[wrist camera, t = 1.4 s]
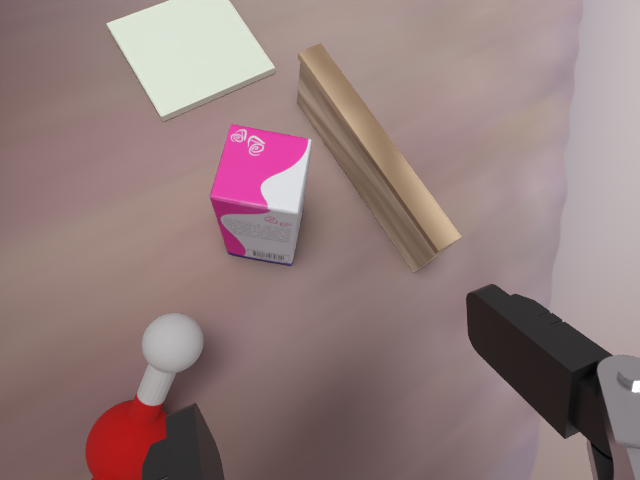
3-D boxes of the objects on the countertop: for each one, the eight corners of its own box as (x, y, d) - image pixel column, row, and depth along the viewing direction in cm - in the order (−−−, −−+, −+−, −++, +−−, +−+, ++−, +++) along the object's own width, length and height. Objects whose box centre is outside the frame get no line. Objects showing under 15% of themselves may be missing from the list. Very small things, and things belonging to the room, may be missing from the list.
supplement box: (304, 205, 40) (315, 137, 30) (292, 267, 38) (299, 219, 28) (240, 193, 40) (229, 120, 29) (225, 254, 38) (207, 201, 27)
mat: (163, 121, 42) (161, 116, 41) (109, 29, 44) (106, 23, 43) (274, 73, 45) (274, 67, 44) (218, -11, 47) (217, -18, 46)
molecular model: (131, 588, 30) (67, 678, 21) (49, 561, 30) (-53, 640, 21) (224, 337, 36) (207, 318, 27) (155, 315, 36) (113, 288, 27)
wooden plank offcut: (410, 274, 39) (438, 251, 33) (294, 103, 44) (298, 52, 37) (430, 262, 40) (461, 237, 33) (313, 94, 44) (320, 43, 38)
